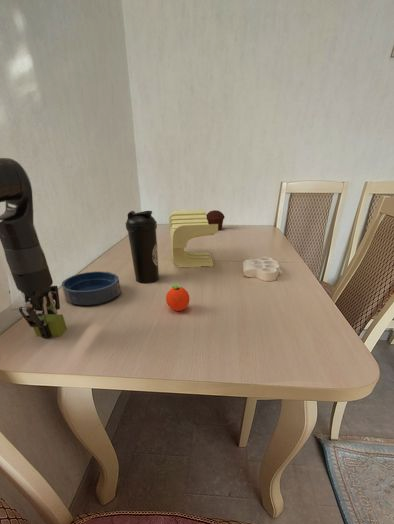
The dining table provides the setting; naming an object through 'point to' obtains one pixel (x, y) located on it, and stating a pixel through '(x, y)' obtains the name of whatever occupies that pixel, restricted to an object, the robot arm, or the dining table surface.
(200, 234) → the slatted curved stool
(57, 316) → the sponge
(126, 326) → the dining table surface
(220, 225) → the muffin
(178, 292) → the clementine
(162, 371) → the dining table surface
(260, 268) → the white lobed compartment tray
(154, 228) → the water bottle
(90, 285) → the bowl
